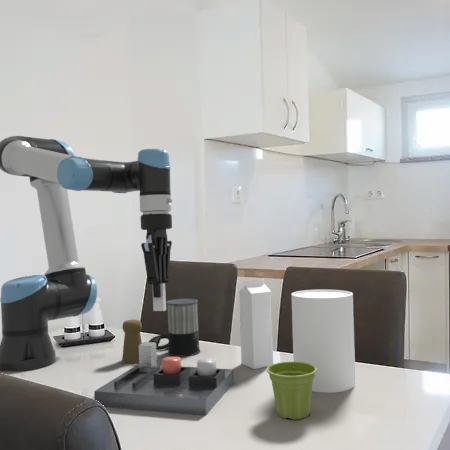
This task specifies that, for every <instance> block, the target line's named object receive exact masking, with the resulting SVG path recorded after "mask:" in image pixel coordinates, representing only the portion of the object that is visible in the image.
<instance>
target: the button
mask: <svg viewBox="0 0 450 450" xmlns="http://www.w3.org/2000/svg"><path fill="white" fill-rule="evenodd" d="M181 367H182V357H181V356H167V357H164V358H162V368H163V374H176V375H178V374H180V373H181Z"/></svg>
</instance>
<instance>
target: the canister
mask: <svg viewBox="0 0 450 450" xmlns="http://www.w3.org/2000/svg"><path fill="white" fill-rule="evenodd" d="M291 315H292V316H291V320H292V321H291V322H292V327H291V328H292V350H293V351H292V352H293V354H292V355H293V357H292V358H293V362H303V363H308V364H311V365H314V366H315V367H316V368H317V372H316V373H315V375H314V379H313V383H312V392H315V393H339V392H340V393H341V392H347V391H350V390H351V389H354V388H355V386H356V357H355V356H356V355H355V326H354V324H355V323H354V322H355V321H354V320H355V319H354V318H355V317H354V293H353V292H351V291H348V290H341V289H305V290H298V291H294V292H292V293H291Z"/></svg>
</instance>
